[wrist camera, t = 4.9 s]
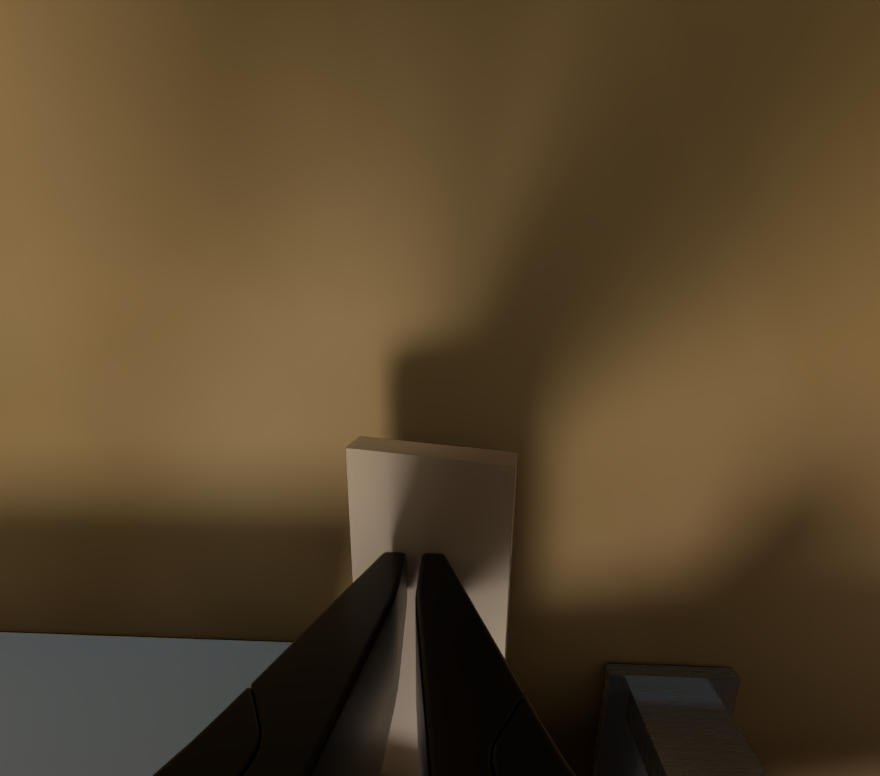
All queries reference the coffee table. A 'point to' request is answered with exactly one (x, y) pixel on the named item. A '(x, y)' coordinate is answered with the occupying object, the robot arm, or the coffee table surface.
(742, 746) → the pivot stand
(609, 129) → the coffee table surface
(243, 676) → the dish
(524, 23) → the coffee table surface
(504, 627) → the lever
